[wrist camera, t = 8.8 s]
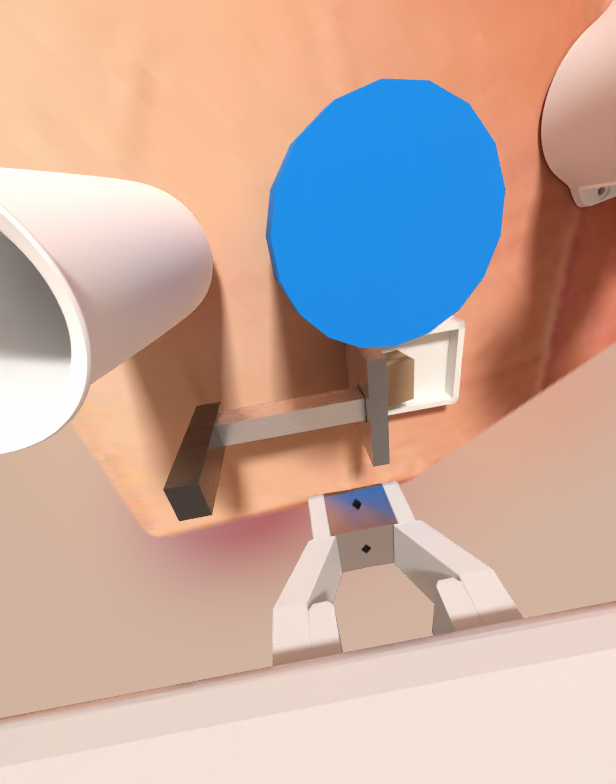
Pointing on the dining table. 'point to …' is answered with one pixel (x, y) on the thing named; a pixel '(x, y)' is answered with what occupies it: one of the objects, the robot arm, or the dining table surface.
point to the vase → (85, 288)
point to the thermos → (386, 213)
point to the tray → (434, 366)
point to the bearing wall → (371, 399)
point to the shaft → (246, 440)
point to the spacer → (399, 377)
